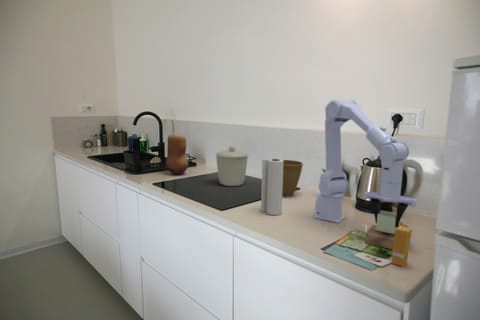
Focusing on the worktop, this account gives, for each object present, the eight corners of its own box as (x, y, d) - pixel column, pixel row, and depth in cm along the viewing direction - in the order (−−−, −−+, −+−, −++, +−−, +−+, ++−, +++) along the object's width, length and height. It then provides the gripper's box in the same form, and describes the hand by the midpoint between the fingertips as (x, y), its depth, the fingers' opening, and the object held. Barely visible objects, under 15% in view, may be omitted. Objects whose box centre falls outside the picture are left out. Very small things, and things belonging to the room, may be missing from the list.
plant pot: (279, 200, 142) (280, 165, 139) (264, 192, 156) (265, 160, 153) (307, 197, 147) (309, 163, 145) (290, 189, 161) (292, 159, 159)
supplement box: (404, 267, 83) (408, 231, 81) (390, 263, 85) (394, 228, 83) (408, 263, 85) (412, 228, 84) (394, 259, 87) (398, 224, 86)
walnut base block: (364, 243, 98) (365, 233, 97) (372, 233, 106) (372, 224, 105) (400, 251, 92) (401, 242, 92) (405, 240, 100) (406, 231, 100)
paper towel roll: (284, 213, 125) (286, 159, 121) (275, 216, 121) (277, 161, 117) (270, 208, 130) (272, 157, 126) (260, 212, 126) (262, 159, 122)
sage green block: (376, 230, 98) (377, 214, 97) (379, 225, 102) (380, 210, 101) (393, 233, 95) (395, 217, 94) (396, 228, 99) (398, 213, 98)
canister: (250, 181, 178) (251, 144, 175) (245, 189, 161) (246, 148, 157) (219, 179, 181) (219, 143, 178) (211, 187, 164) (211, 147, 160)
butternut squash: (192, 173, 198) (192, 133, 194) (180, 177, 186) (179, 135, 182) (174, 171, 203) (173, 132, 199) (161, 175, 191) (160, 133, 187)
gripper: (362, 180, 97) (359, 222, 99) (416, 188, 89) (411, 233, 91) (368, 176, 102) (365, 216, 105) (419, 183, 94) (414, 226, 96)
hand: (386, 224), depth 98 cm, fingers closed on sage green block, 5 cm apart
